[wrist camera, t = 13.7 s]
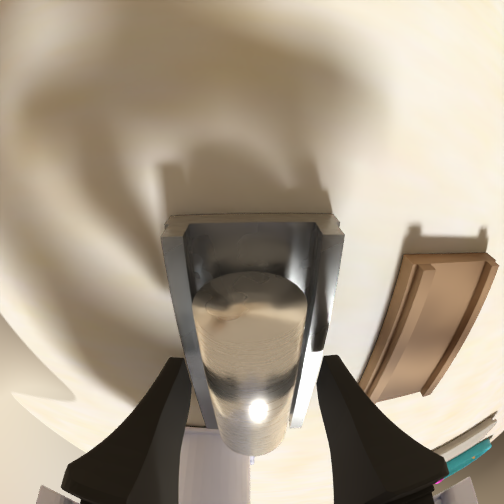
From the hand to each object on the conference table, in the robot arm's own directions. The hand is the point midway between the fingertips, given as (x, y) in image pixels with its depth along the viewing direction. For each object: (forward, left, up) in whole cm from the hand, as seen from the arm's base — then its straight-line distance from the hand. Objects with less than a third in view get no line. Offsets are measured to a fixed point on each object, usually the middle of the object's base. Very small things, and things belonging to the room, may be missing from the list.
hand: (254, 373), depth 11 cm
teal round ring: (-76, -66, -4) cm, 101 cm away
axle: (-1, 0, -2) cm, 2 cm away
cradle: (-1, 0, -3) cm, 3 cm away
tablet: (-44, -39, -4) cm, 59 cm away
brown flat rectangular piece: (-2, -11, -3) cm, 12 cm away
